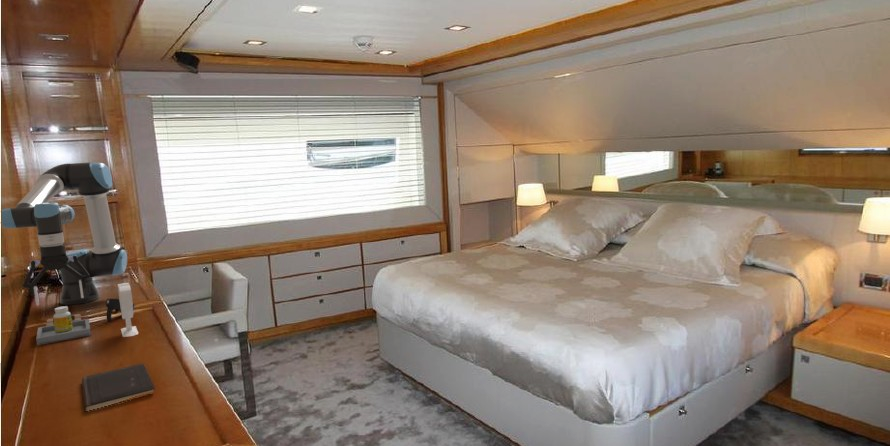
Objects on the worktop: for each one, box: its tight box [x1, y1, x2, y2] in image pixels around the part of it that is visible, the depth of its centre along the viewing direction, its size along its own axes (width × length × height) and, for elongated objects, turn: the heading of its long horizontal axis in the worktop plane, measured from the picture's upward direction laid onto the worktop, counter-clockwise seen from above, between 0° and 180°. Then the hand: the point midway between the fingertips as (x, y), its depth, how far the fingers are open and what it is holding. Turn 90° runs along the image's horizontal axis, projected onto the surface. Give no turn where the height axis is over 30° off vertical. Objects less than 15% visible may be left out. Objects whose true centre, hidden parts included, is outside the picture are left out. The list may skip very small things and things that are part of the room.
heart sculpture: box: [117, 282, 139, 338], centre depth 200 cm, size 16×5×18 cm, turn 34°
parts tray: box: [36, 318, 92, 346], centre depth 200 cm, size 16×16×2 cm
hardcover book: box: [81, 363, 156, 413], centre depth 150 cm, size 16×23×2 cm
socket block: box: [45, 313, 82, 326], centre depth 212 cm, size 11×11×2 cm
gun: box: [105, 297, 136, 322], centre depth 221 cm, size 3×16×10 cm, turn 175°
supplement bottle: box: [52, 305, 73, 334], centre depth 200 cm, size 5×5×10 cm
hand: (60, 300), depth 199 cm, fingers open, 13 cm apart
